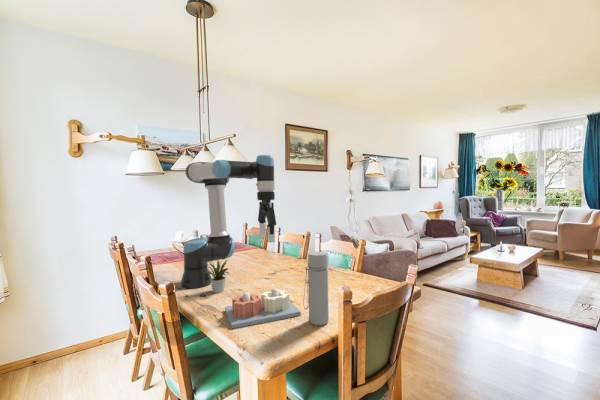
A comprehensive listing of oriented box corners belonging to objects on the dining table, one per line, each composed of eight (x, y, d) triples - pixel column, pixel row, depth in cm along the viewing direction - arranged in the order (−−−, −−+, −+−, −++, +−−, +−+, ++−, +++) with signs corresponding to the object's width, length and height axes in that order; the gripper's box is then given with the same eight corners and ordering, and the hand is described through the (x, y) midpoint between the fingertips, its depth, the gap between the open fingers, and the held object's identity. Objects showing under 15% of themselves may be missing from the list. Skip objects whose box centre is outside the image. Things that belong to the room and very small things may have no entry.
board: (225, 310, 115) (224, 289, 115) (285, 300, 125) (285, 280, 125) (232, 328, 100) (231, 304, 99) (300, 315, 110) (300, 293, 109)
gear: (256, 304, 117) (256, 292, 117) (262, 314, 107) (262, 301, 107) (231, 309, 113) (231, 296, 113) (235, 319, 104) (235, 305, 103)
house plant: (199, 298, 129) (198, 262, 129) (201, 288, 142) (200, 256, 142) (231, 295, 133) (230, 260, 132) (230, 285, 146) (229, 254, 146)
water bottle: (327, 316, 108) (326, 251, 107) (330, 326, 100) (329, 255, 99) (303, 317, 108) (302, 251, 107) (304, 327, 100) (302, 256, 99)
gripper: (250, 191, 135) (251, 236, 135) (265, 190, 112) (266, 245, 112) (266, 191, 137) (267, 235, 138) (283, 190, 114) (284, 243, 115)
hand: (266, 239), depth 125 cm, fingers open, 13 cm apart
